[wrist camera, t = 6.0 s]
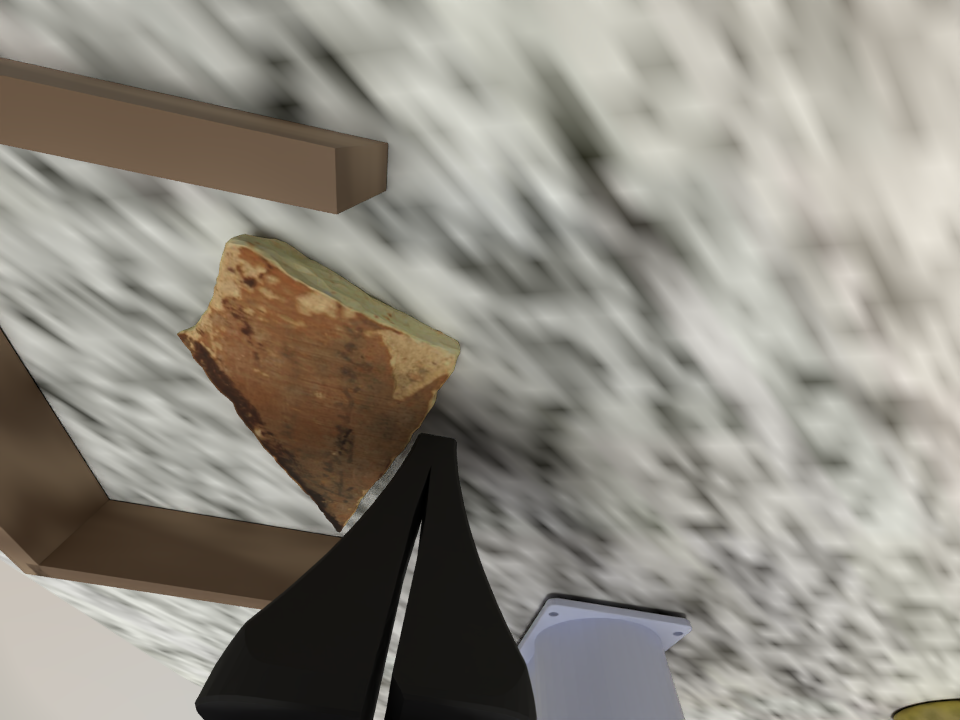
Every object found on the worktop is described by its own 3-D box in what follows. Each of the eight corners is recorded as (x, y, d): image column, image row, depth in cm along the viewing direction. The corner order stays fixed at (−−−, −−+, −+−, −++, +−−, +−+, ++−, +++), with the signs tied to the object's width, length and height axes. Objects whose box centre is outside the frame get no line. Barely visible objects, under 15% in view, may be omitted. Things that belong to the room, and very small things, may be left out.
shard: (351, 503, 17) (336, 540, 15) (181, 434, 15) (145, 468, 13) (473, 338, 11) (468, 369, 10) (233, 197, 10) (181, 210, 8)
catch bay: (372, 553, 18) (350, 622, 15) (95, 508, 17) (24, 573, 15) (387, 143, 8) (334, 148, 6) (-252, 1, 7) (-643, -66, 5)
